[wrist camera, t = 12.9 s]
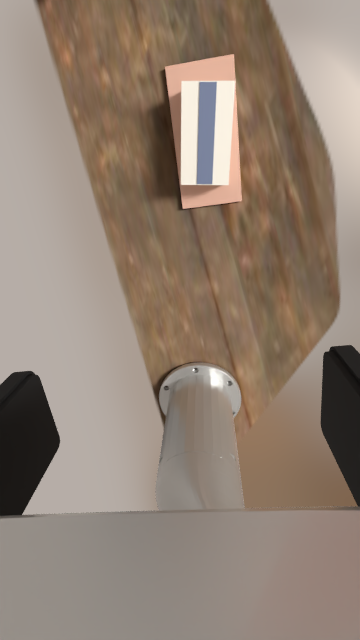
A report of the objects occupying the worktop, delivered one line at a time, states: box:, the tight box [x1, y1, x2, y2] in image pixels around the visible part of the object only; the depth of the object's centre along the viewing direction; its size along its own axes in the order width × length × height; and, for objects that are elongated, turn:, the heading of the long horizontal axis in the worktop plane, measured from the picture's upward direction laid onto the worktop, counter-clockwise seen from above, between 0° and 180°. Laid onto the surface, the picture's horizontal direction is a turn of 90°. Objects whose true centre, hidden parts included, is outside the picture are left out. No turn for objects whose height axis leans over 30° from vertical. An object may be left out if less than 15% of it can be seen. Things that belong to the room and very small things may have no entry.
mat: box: [165, 54, 242, 209], centre depth 36 cm, size 14×7×1 cm, turn 8°
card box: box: [181, 81, 235, 185], centre depth 34 cm, size 5×9×4 cm, turn 0°
